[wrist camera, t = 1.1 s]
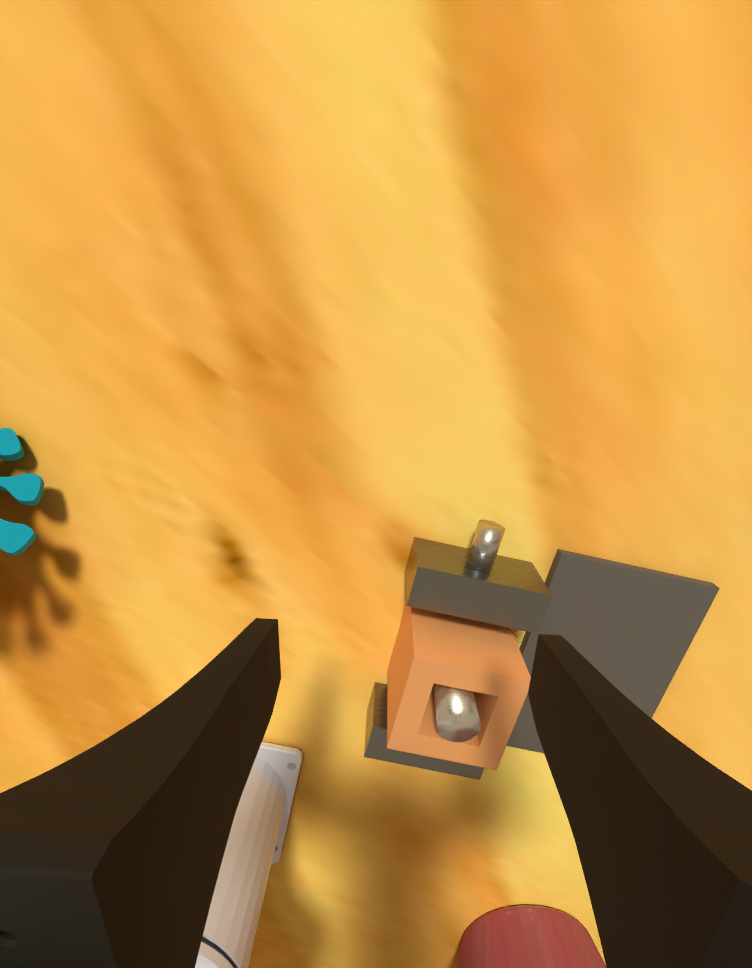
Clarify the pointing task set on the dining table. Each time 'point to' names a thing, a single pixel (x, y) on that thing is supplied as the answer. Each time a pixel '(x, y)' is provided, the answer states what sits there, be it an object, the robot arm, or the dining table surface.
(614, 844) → the robot arm
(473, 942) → the plant pot
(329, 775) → the dining table surface
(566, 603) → the panel
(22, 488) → the gear
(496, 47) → the dining table surface
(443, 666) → the collar
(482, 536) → the vise
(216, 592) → the dining table surface
